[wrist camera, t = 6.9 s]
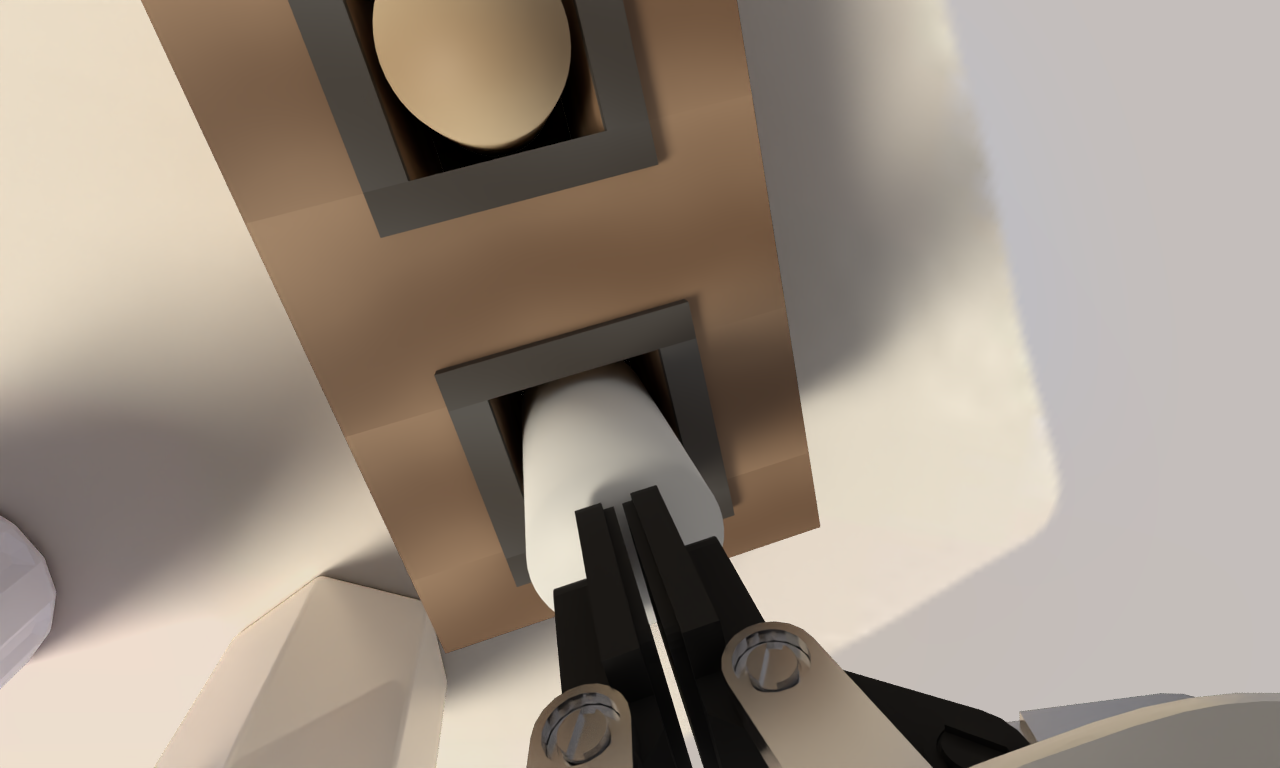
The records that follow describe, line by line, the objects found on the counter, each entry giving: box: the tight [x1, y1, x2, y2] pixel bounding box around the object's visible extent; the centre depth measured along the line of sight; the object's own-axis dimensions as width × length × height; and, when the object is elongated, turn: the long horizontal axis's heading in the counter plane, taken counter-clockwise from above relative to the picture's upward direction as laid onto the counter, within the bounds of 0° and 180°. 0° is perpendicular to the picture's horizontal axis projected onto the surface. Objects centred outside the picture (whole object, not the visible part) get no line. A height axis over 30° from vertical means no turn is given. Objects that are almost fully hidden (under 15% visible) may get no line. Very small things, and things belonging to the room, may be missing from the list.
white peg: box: [522, 360, 724, 625], centre depth 16 cm, size 4×4×8 cm
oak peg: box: [373, 0, 571, 157], centre depth 16 cm, size 4×4×8 cm
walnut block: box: [141, 0, 820, 653], centre depth 18 cm, size 20×12×8 cm, turn 14°
